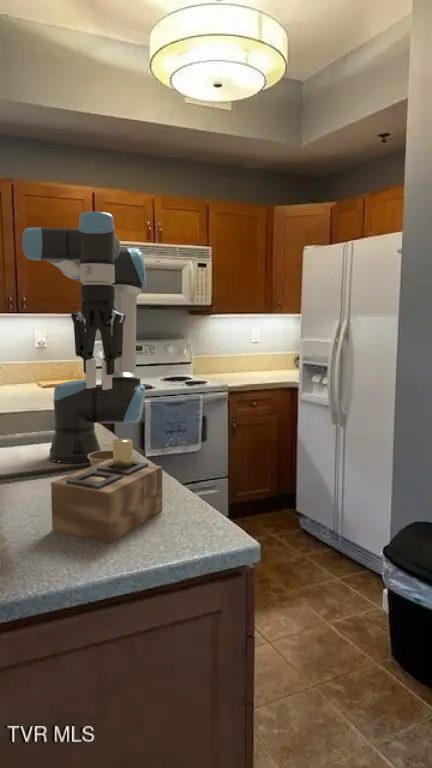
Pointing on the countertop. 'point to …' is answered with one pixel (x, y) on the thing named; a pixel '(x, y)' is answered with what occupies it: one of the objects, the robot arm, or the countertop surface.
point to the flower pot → (100, 456)
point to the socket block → (106, 500)
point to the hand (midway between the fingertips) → (99, 388)
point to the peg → (123, 454)
